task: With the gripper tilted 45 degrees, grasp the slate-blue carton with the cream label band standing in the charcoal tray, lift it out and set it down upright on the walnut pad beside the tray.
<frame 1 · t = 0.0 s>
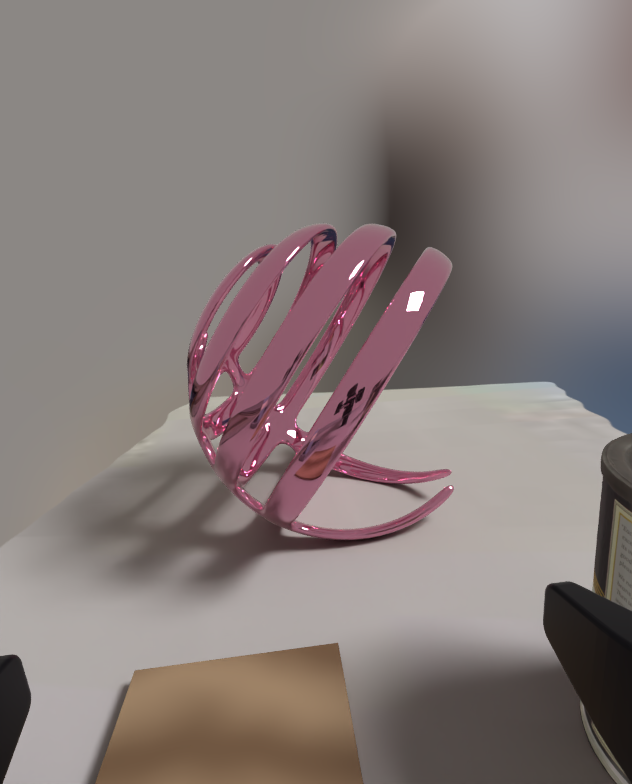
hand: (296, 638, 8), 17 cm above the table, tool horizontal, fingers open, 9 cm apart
pad: (230, 779, 21), on the table
spiral basket: (331, 503, 45), on the table
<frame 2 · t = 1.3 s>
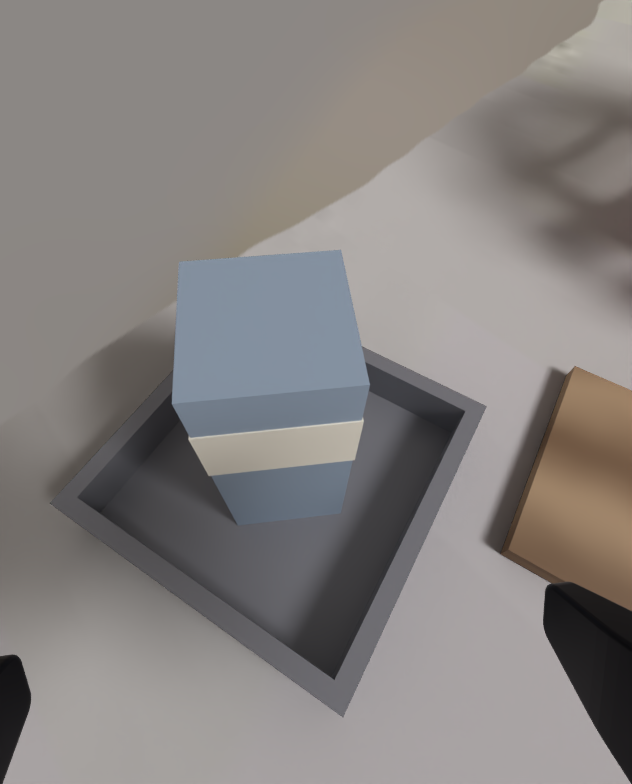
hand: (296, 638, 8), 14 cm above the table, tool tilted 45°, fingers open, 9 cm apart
tray: (285, 474, 23), on the table
carton: (285, 470, 23), resting on tray
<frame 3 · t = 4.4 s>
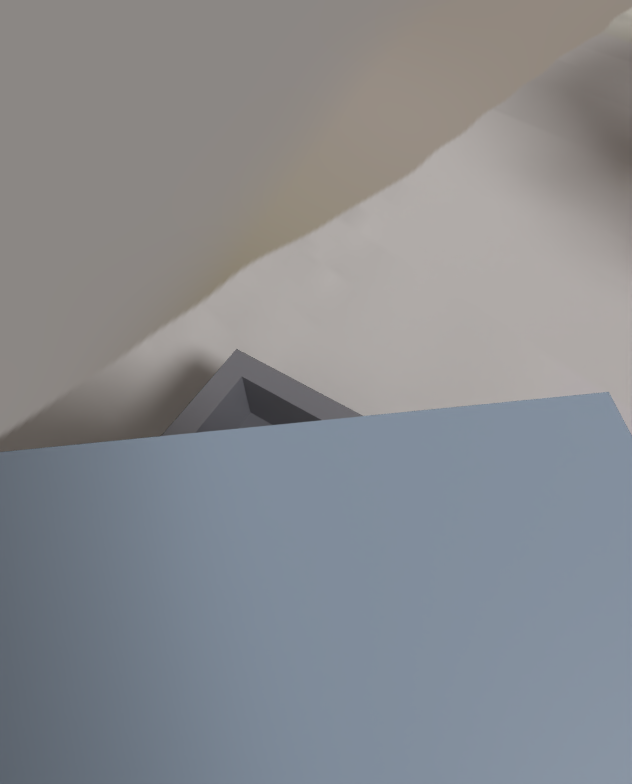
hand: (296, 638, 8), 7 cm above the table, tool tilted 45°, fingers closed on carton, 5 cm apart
tray: (306, 700, 13), on the table
carton: (305, 702, 12), resting on tray, touching gripper
when the fingers open (8 cm above the table, at t = 9.7 s): carton stays where it is, resting on pad.
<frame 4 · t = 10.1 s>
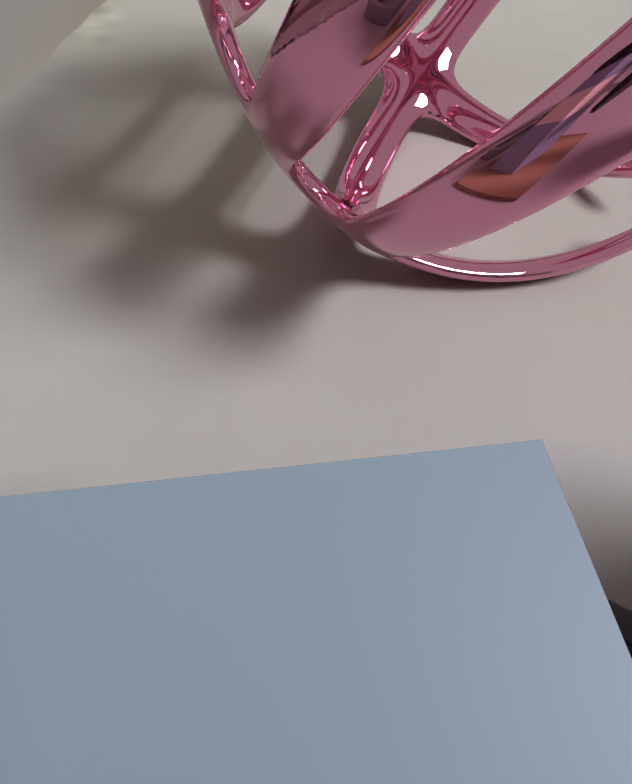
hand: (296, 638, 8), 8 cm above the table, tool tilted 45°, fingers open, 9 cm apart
carton: (305, 695, 13), point 1 cm above the table, touching pad
spiral basket: (437, 194, 27), on the table
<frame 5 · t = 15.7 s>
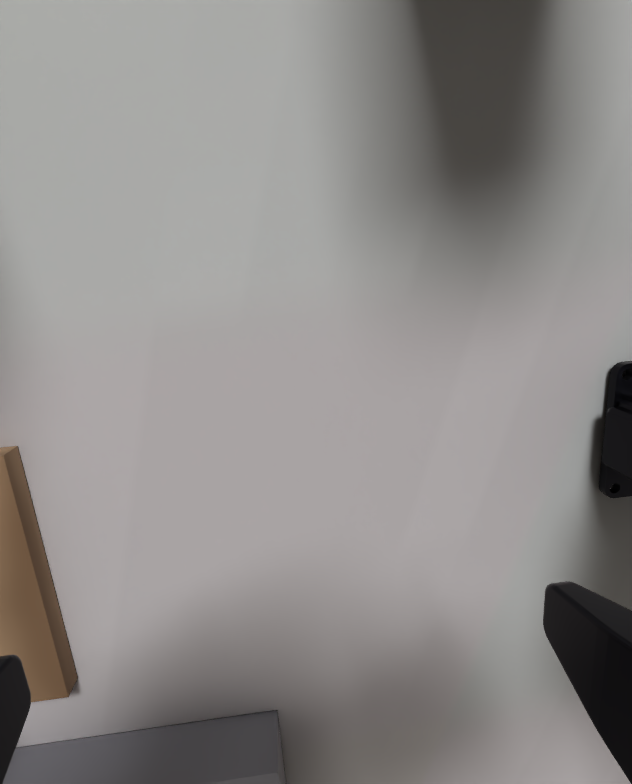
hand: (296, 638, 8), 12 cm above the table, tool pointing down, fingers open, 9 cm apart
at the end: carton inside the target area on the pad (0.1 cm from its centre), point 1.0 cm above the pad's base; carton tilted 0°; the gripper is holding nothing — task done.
